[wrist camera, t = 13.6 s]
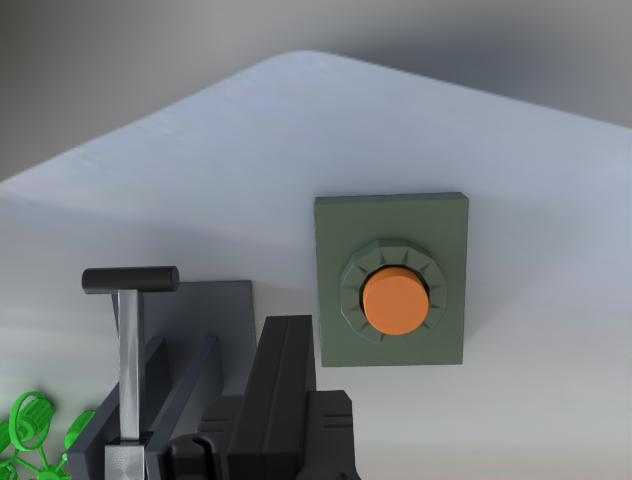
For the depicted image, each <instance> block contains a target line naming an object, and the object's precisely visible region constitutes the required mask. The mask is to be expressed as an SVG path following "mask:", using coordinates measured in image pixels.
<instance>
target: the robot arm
mask: <svg viewBox="0 0 632 480" xmlns="http://www.w3.org/2000/svg"><path fill="white" fill-rule="evenodd" d="M156 456H157V462H158V467H159V473H160V478H161V480H361V479H360V477H359V475H358V474H357V472H356V467H355V453H354V434H353V416H352V401H351V399H350V398H349V397H348V395H347V394H346V393H345V391H344V390H333V391H316V373H315V358H314V342H313V327H312V315H295V316H269V317H266V320H265V323H264V327H263V330H262V334H261V337H260V341H259V344H258V348H257V351H256V354H255V358H254V361H253V365H252V368H251V372H250V375H249V378H248V382H247V385H246V389H245V392H244V395H217V396H216V397H215V398H214V399H213V400H212V401H211V402H210V403H209V404H208V405H207V406H206V407H205V410H204V412H203V415H202V417H201V422H199V425H198V427H197V430H196V433H191V434H184V435H181V436H179V437H176V438H174V439H171V440H170V441H169V442H167V443H166V444H164V445H163V446H162V447H161V448H160V450H159V451H158V452H157V454H156Z"/></svg>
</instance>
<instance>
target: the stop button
mask: <svg viewBox="0 0 632 480" xmlns="http://www.w3.org/2000/svg"><path fill="white" fill-rule="evenodd" d="M363 302H364V310H365V314H366V317H367V319H368V321H369V322H370V323H371V324H372V325H373V326H374V327H375V328H376V329H377V330H379V331H381V332H383V333H386V334H391V335H401V334H405V333H408V332H411V331H413V330H414V329H416V328H417V327H418V326H419V325H420V324H421V323H422V322H423V321H424V319H425V317H426V315H427V312H428V307H429V301H428V296H427V294H426V291H425V289H424V287H423V285H422V283H421V281H420V279H419V278H418V277H417V276H416V275H415V274H414V273H413V272H411V271H409V270H407V269H404V268H400V267H389V268H385V269H382V270H380V271H378V272H376V273H375V274H374V275H372V276H371V277H370V279H369V280H368V281H367V283H366V285H365V287H364V291H363Z"/></svg>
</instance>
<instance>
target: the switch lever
mask: <svg viewBox="0 0 632 480" xmlns="http://www.w3.org/2000/svg"><path fill="white" fill-rule="evenodd" d="M81 282H82V288H83V291H84V292H85V293H86V294H119V389H120V434H119V435H118V436H117V437H115V438H114V439H113V440H112V441H110V442H109V443H108V444H106V445H105V446H104V480H148V474H147V468H146V461H145V455H144V451H145V449H146V447H147V445H148V443H149V442H150V440H151V438H152V436H153V434H154V432H155V431H146V395H145V317H144V293H154V292H176V291H177V289H178V287H179V272H178V269H177V267H176V266H151V267H118V268H88V269H86V270H85V271H84V272H83V275H82V281H81Z"/></svg>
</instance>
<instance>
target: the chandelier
mask: <svg viewBox="0 0 632 480" xmlns="http://www.w3.org/2000/svg"><path fill="white" fill-rule="evenodd" d="M30 395H33V396H35V397H36V398H37V399H35V400H32V401H31V402H29V403H27V404H26V405H25V406H24V408H23V409H22V410H21V411H20V412H19V409H20V406H21V404H22V403H23V401H24V400H25V399H26V398H27V397H28V396H30ZM99 407H100V406H99ZM99 407H98V409H99ZM98 409H97V410H98ZM97 410H96V411H97ZM96 411H95V412H94V411H86V412H84V413H82V414H81V415H80V416H79V417H78V418H77V419H76V420H75V422H74V423H73V424H72V425H71V427H70V428H69V429H68V432H67V434H66V437H65V438H64V445H65V447H66V449H67V450H68V449H69V447H70V446H71V445H72V443H73V442H74V441H75V439H76V438H77V437H78V435H79V434H80V433H81V431H82V430H83V429H84V427H85V426H86V425H87V423H88V422H89V421H90V419H91V418H92V417H93V415H94V414H95V413H96ZM18 412H19V413H18ZM35 415H36V416H35ZM34 416H35V417H34ZM52 416H53V408H52V405H51V404H50V403H49V402H48V401H47V399H46V398H45V397H44V395H43V394H41V393H39V392H27V393H24V394H22V395H21V396H20V397H19V398H18V399H17V400H16V402H15V403H14V405H13V407H12V410H11V413H10V417H9V424H8V423H6V422H3V421H0V454H1V452H2V451H3V450H4V449H5V448H6V447H7V446H8V445H9V444H10V443H11V441H12V443H13V444H14V446H15V447H16V449H15V453H14V455H13V456H12V457H10V458H9V459H7V460H5V461H2V462H0V480H9V479H10V471H11V472H13V475H12V477H11V479H10V480H17V477H18V474H17V471H16V469H15V467H14V466H12V465H8V464H9V463H10V462H11V461H12V460H13V459H14V460H16V461H18V462H19V463H21V464H23V465H24V466H26V467H28V468H29V469H31V470H33V471H35V472H36V473H38V474H39V475H38V478H37V479H30V480H67V479H71V477H70V475H68V476H67V475H66V473H65V471H64V470H63V469H62V468H61V467H62V466H63V464H64V463H65V461H67V458H66V454H64V455H63V457H62V458H63V460H62V461H61V463H60V464H59V466H57V465H53V464H49V465H48V464H47V461H46V458H45V455H44V452H43V449H42V446H41V444H42V443H43V441H44V440H45V438H46V436H47V434H48V431H49V427H50V420H51V418H52ZM40 432H41V434H40V436H39V438H38V440H37V441H36V442H35V443H34V444H33V445H32V446H31V447H26V446H24V445H23V444H22V443H21V441H28V440H30V439H31V438H32V437H34V436H35V435H37V434H39V433H40ZM36 448H38V449H39V452H40V455H41V458H42V460H43V463H44V466H43V467H42V468H41V469H40V470H38V469H37V468H35V467H33V466H32V465H30V464H28V463H27V462H25V461H23V460H22V459H20V458H18V457H16V455H17V454H18V452H19V450H21V451H29V450H34V449H36ZM65 453H66V452H65Z"/></svg>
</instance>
